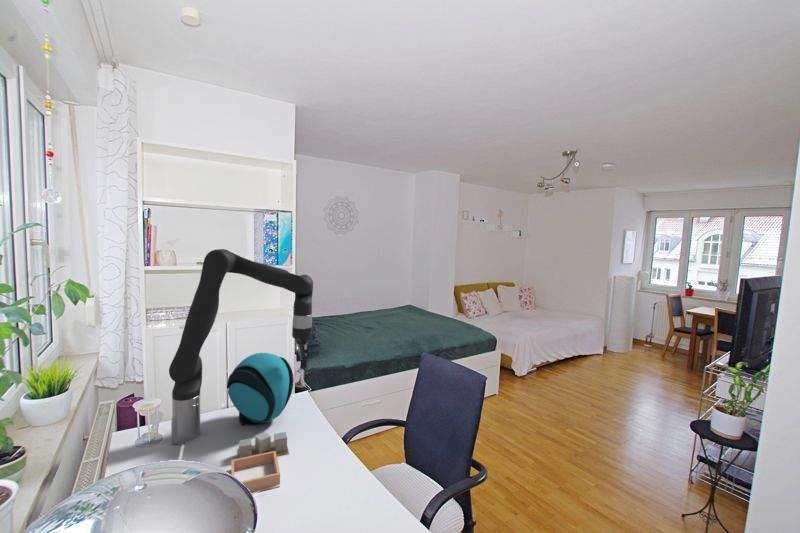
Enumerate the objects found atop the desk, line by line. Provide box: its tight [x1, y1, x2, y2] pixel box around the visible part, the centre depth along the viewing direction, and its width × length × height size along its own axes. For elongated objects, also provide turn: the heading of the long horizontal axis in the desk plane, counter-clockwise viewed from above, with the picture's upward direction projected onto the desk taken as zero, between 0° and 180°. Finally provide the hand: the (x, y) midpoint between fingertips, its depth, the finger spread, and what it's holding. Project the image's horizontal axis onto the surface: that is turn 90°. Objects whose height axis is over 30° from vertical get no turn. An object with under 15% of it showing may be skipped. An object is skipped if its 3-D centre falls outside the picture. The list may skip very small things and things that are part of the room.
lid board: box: [236, 440, 290, 459], centre depth 130 cm, size 17×10×1 cm, turn 116°
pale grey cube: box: [254, 431, 272, 453], centre depth 131 cm, size 4×4×5 cm
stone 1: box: [238, 438, 253, 458], centre depth 126 cm, size 4×4×5 cm
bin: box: [230, 451, 281, 493], centre depth 116 cm, size 14×13×4 cm
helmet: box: [226, 352, 295, 426], centre depth 149 cm, size 26×24×30 cm
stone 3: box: [273, 431, 288, 453], centre depth 132 cm, size 4×4×5 cm
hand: (301, 364), depth 142 cm, fingers open, 8 cm apart
